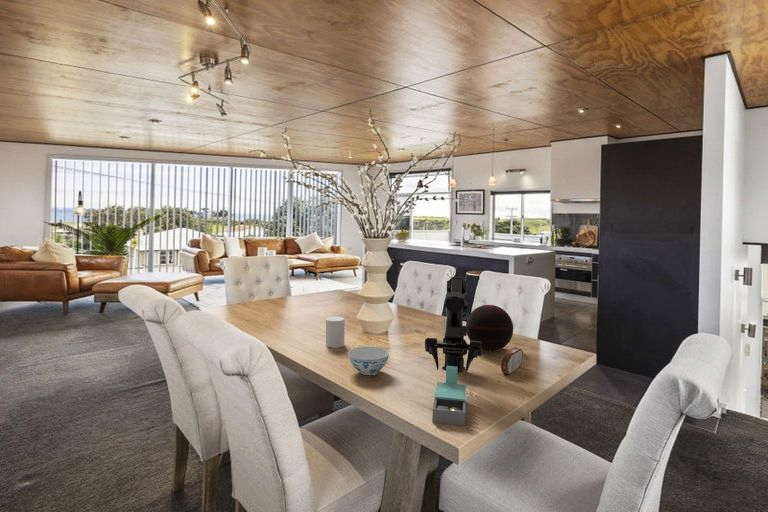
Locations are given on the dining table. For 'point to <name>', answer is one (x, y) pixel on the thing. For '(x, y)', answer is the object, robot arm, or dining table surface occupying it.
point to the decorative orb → (490, 327)
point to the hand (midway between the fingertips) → (451, 370)
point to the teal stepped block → (451, 387)
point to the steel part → (442, 407)
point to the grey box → (449, 412)
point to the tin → (511, 360)
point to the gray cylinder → (335, 332)
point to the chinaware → (368, 359)
